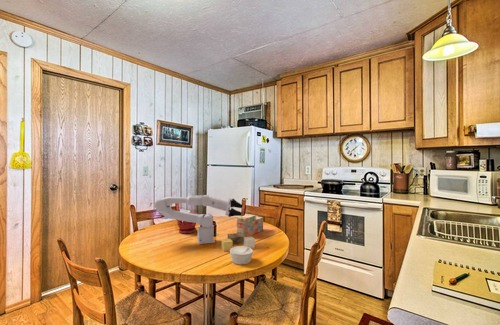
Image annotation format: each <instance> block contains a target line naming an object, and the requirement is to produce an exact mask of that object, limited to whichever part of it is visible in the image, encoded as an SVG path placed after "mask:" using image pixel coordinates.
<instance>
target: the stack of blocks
mask: <svg viewBox="0 0 500 325" xmlns="http://www.w3.org/2000/svg"><path fill="white" fill-rule="evenodd" d="M263 231H264V217H262V216H256V215H255V214H250V213H249V214H245V215H241V216H237V217H236V233H241V234H242V235H243V236H244V237H251V236H253V235H255V234H258V233H260V232H263Z"/></svg>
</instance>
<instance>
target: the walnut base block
mask: <svg viewBox="0 0 500 325" xmlns="http://www.w3.org/2000/svg"><path fill="white" fill-rule="evenodd" d="M227 239H231V240H232V241H233V245H238V244H244V236H243V235H242V234H241V233H237V232H235V233H227Z"/></svg>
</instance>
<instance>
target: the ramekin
mask: <svg viewBox="0 0 500 325" xmlns="http://www.w3.org/2000/svg"><path fill="white" fill-rule="evenodd" d="M229 254H230V258H231V259H230V260H231V262H232V263H233V264H236V265H247V264H249V263H251V261H252V258H253V254H254V250H253V248H249V247H244V245H238V247H236V246H233V248H231V249H230V251H229Z"/></svg>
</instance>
